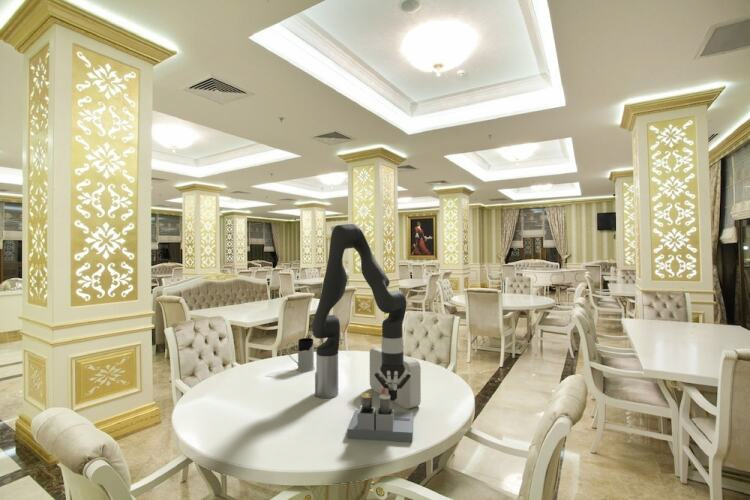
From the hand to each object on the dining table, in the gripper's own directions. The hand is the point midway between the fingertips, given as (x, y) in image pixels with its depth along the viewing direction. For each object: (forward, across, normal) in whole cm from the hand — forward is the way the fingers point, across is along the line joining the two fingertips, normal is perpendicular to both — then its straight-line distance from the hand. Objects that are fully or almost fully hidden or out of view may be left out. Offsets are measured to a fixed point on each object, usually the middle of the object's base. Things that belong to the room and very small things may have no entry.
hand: (393, 399), depth 130 cm
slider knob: (+6, -11, +3) cm, 13 cm away
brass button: (+1, -8, -6) cm, 10 cm away
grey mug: (+9, -52, +59) cm, 79 cm away
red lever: (+6, -3, 0) cm, 7 cm away
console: (+9, -4, -2) cm, 10 cm away
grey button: (+1, -2, -6) cm, 7 cm away
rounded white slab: (+10, -2, +27) cm, 29 cm away
